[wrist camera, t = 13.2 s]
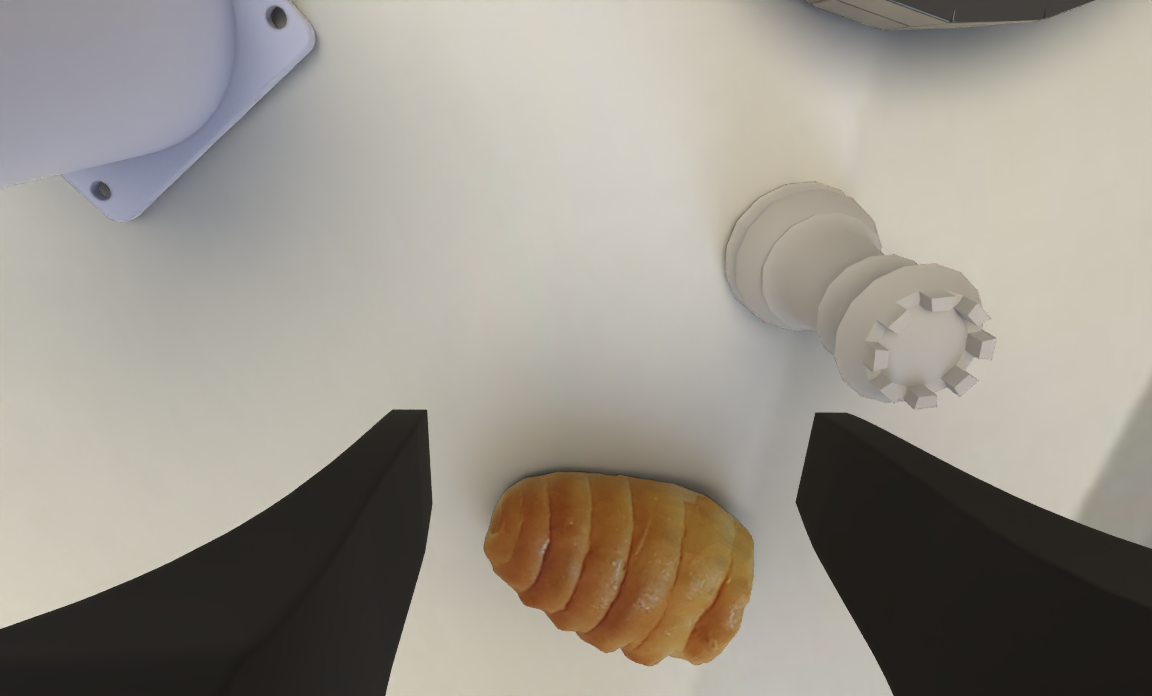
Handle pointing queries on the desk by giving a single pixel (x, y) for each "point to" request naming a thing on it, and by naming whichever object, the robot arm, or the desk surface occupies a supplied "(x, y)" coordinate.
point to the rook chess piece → (857, 295)
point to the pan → (945, 12)
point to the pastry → (625, 562)
